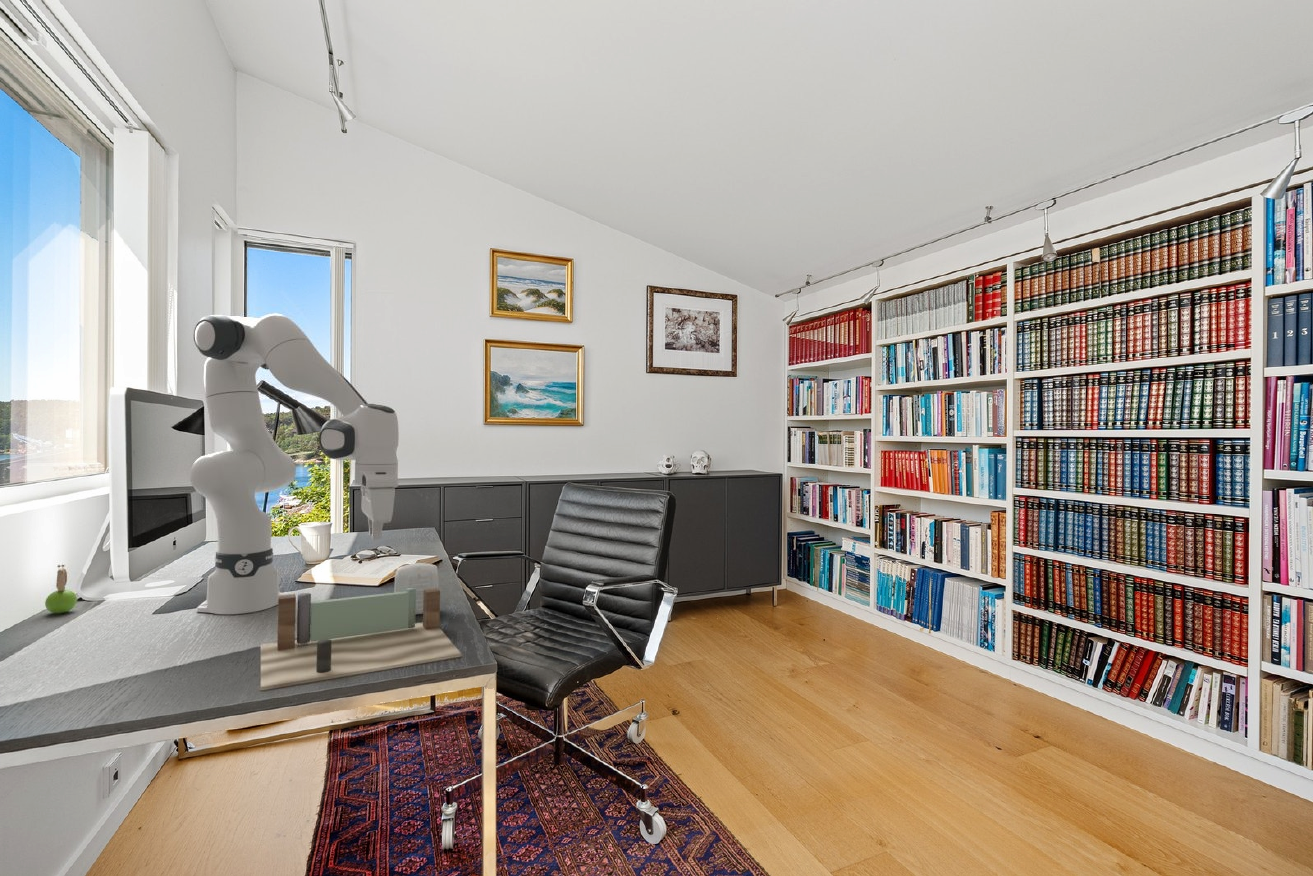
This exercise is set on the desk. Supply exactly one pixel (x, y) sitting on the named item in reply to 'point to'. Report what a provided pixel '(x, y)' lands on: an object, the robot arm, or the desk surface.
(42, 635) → the desk surface
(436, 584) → the photo printer
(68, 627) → the desk surface
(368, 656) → the gate frame
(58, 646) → the desk surface
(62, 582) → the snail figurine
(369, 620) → the gate
